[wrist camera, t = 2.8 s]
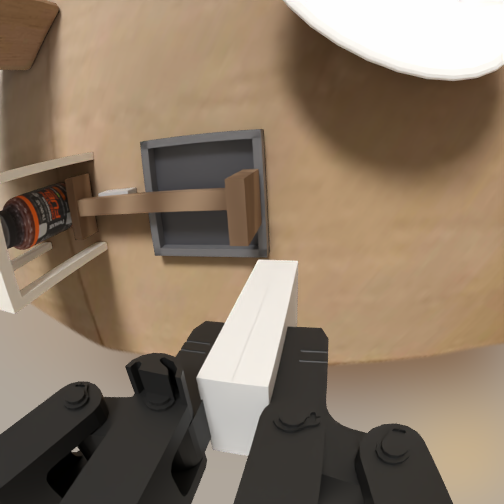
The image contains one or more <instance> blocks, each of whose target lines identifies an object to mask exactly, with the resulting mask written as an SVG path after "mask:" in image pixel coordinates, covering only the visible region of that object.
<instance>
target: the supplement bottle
mask: <svg viewBox="0 0 504 504" xmlns="http://www.w3.org/2000/svg"><path fill="white" fill-rule="evenodd" d="M0 220H1V225H2V229H3V234H4V238H5V242H6V246H7V249H9V248H11V247H13V246H14V247H15V248H17V249H20V250H24V249H28V248H30V247H32V246H34V245H36V244H38V243H40V242H42V241H44V240H46V239H48V238H50V237H52V236H54V235H56V234H58V233H60V232H62V231H64V230H66V229H68V228H70V227H72V226H73V225H72V220H71V215H70V209H69V204H68V198H67V192H66V185H65V184H63V183H58V184H54V185H50V186H47V187H44V188H41V189H37V190H34V191H31V192H28V193H25V194H22V195H19V196H16V197H14V198H11V199H10V200H8V201H7V202H6V204H5V205H4V208H3V210H2V211H0Z"/></svg>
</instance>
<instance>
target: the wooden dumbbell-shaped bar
mask: <svg viewBox="0 0 504 504" xmlns="http://www.w3.org/2000/svg"><path fill="white" fill-rule="evenodd" d="M65 185H66V192H67V198H68V204H69V209H70V215H71V220H72V225H73V230H74V235H75V240H83V239H85V238H87V237H89V236H91V235H92V234H94V233H96V232H98V229H97V224H96V218H95V216H96V215H113V214H132V213H153V212H178V211H211V210H227V217H228V229H229V241H230V246H249V244H250V243H251V241H252V239H253V238H254V236H255V234H256V232H257V231H258V229H259V227H260V226H261V224H262V221H261V203H260V184H259V169H243V170H241V171H239V172H237V173H235V174H233V175H232V176H230V177H228V178H226V179H225V188H208V189H189V190H173V191H158V192H145V193H132V194H121V195H110V196H100V197H92V194H91V187H90V180H89V173H87V174H81V175H78V176H74V177H71V178H67V179H65Z"/></svg>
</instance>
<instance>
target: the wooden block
mask: <svg viewBox="0 0 504 504" xmlns="http://www.w3.org/2000/svg"><path fill="white" fill-rule="evenodd" d="M58 11H59V7H58V6H57V4H56V3H53V2H50V1H46V0H0V70H28V69H30V67H31V66H32V64H33V62H34V59H35V57H36V55H37V53H38V51H39V48H40V46H41V44H42V42H43V40H44V38H45V36H46V34H47V32H48V30H49V28H50V26H51V24H52V22H53V21H54V19H55V17H56V15H57V13H58Z"/></svg>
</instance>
